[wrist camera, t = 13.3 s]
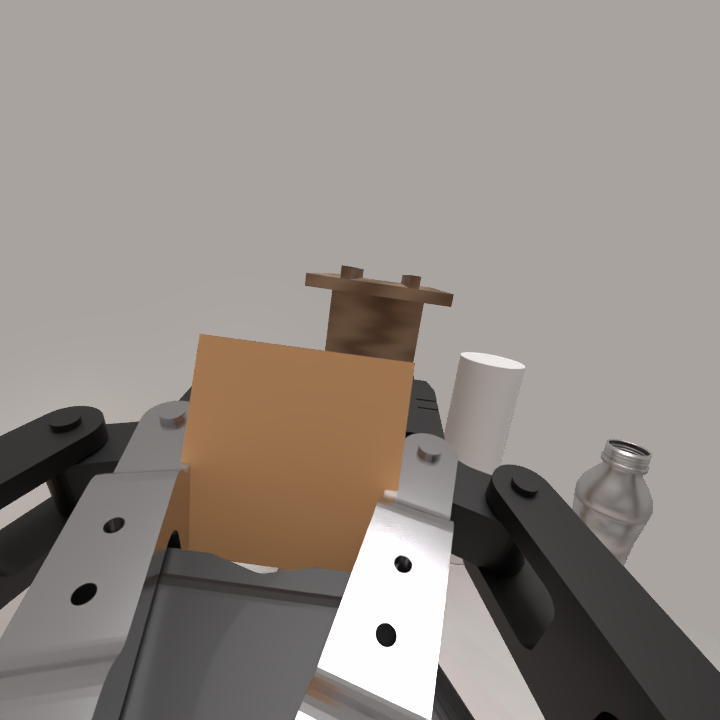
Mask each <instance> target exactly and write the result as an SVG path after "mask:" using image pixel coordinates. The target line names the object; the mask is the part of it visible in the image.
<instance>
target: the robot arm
mask: <svg viewBox="0 0 720 720" xmlns="http://www.w3.org/2000/svg"><path fill="white" fill-rule="evenodd" d="M191 389H192V386H191V388H190V389H189V390H188V391H187V392H186V393H185V394H184V395H183V397H182V398H181V399H180V400H179V401H171V402H166V403H162V404H159V405H157V406H155V407H153V408H151V409H150V410H148V411H147V412H146V413H145V414H144V415H143V416H142V418H141V420H140V421H139V422H130V423H117V424H106V423H105V420H104V416H103V414H102V412H101V411H100V410H98V409H96V408H93V407H89V406H74V407H68V408H63V409H59V410H56V411H53V412H51V413H48V414H46V415H44V416H42V417H40V418H37V419H35V420H33V421H31V422H29V423H27V424H25V425H23V426H21V427H19V428H16V429H14V430H12V431H10V432H8V433H6V434H4V435H2V436H0V509H2V508H4V507H5V506H7V505H9V504H10V503H12V502H13V501H15V500H17V499H18V498H20V497H21V496H23V495H25V494H27V493H28V492H30V491H31V490H33V489H35V488H36V487H38V486H39V485H41V484H43V483H44V482H46V483H47V486H48V488H49V490H50V493H51V495H52V497H50V498H48V499H47V500H45V501H44V502H42V503H41V504H39V505H38V506H36V507H35V508H33V509H32V510H30V511H29V512H27V513H25V514H24V515H23V516H21V517H20V518H18V519H17V520H15V521H13V522H12V523H10V524H9V525H7V526H6V527H4V528H3V529H1V530H0V609H2V608H3V607H4V606H5V605H6V604H8V603H9V602H10V601H11V600H13V599H14V598H15V597H16V596H18V595H19V594H20V593H21V592H23V591H24V590H25V589H26V588H28V587H29V586H30V585H31V586H30V588H29V590H28V591H27V593H26V595H25V597H24V598H23V600H22V602H21V604H20V606H19V607H18V609H17V611H16V613H15V614H14V616H13V617H12V619H11V621H10V623H9V625H8V626H7V628H6V630H5V632H4V633H3V635H2V637H1V639H0V720H475V719H474V718H473V716H472V714H471V713H470V711H469V710H468V708H467V707H466V705H465V704H464V702H463V701H462V699H461V698H460V696H459V694H458V693H457V691H456V690H455V688H454V687H453V685H452V684H451V682H450V681H449V679H448V678H447V676H446V675H445V673H444V671H443V670H442V668H441V667H440V665H439V664H438V657H439V648H440V640H441V631H442V623H443V614H444V606H445V598H446V589H447V581H448V572H449V564H450V555H451V554H453V555H455V556H457V557H459V558H461V559H463V563H464V565H465V568H466V569H467V571H468V573H469V575H470V577H471V579H472V581H473V583H474V585H475V587H476V589H477V590H478V592H479V594H480V596H481V598H482V600H483V602H484V604H485V606H486V608H487V609H488V611H489V613H490V615H491V617H492V619H493V621H494V623H495V625H496V627H497V628H498V630H499V632H500V634H501V636H502V638H503V640H504V642H505V644H506V646H507V647H508V649H509V651H510V653H511V655H512V657H513V659H514V661H515V663H516V665H517V666H518V668H519V670H520V672H521V674H522V676H523V678H524V680H525V682H526V684H527V685H528V687H529V689H530V691H531V693H532V695H533V697H534V699H535V701H536V703H537V704H538V706H539V708H540V710H541V712H542V714H543V716H544V718H545V720H720V672H719V671H718V670H717V669H716V668H715V667H714V666H713V665H712V663H711V662H710V661H709V660H708V659H707V658H706V657H705V656H704V655H703V654H702V652H701V651H700V650H699V649H698V648H697V647H696V646H695V645H694V644H693V642H692V641H691V640H690V639H689V638H688V637H687V636H686V635H685V634H684V633H683V631H682V630H681V629H680V628H679V627H678V626H677V625H676V624H675V623H674V621H673V620H672V619H671V618H670V617H669V616H668V615H667V614H666V613H665V612H664V610H663V609H662V608H661V607H660V606H659V605H658V604H657V603H656V602H655V600H653V598H652V597H651V596H650V595H649V594H648V593H647V592H646V591H645V589H644V588H643V587H642V586H641V585H640V584H639V583H638V582H637V581H636V580H635V578H634V577H633V576H632V575H631V574H630V573H629V572H628V571H627V570H626V568H625V567H624V566H623V565H622V564H621V563H620V562H619V561H618V560H617V558H616V557H615V556H614V555H613V554H612V553H611V552H610V551H609V550H608V549H607V547H606V546H605V545H604V544H603V543H602V542H601V541H600V540H599V539H598V537H597V536H596V535H595V534H594V533H593V532H592V531H591V530H590V529H589V528H588V526H587V525H586V524H585V523H584V522H583V521H582V520H581V519H580V518H579V516H578V515H577V514H576V513H575V512H574V511H573V510H572V509H571V508H570V507H569V505H568V504H567V503H566V502H565V501H564V500H563V499H562V498H561V497H560V495H559V494H558V493H557V492H556V491H555V490H554V489H553V488H552V487H551V485H550V484H549V483H548V482H547V481H546V480H545V479H543V478H542V477H541V476H539V475H538V474H537V473H535V472H533V471H531V470H529V469H527V468H524V467H521V466H516V465H502V466H499V467H498V468H496V469H495V470H494V472H493V474H492V475H490V474H487V473H484V472H482V471H479V470H476V469H474V468H471V467H469V466H467V465H465V464H463V463H462V462H460V461H459V460H458V456H457V453H456V451H455V449H454V448H453V447H452V446H451V445H450V444H449V443H448V442H447V441H445V438H444V433H443V429H442V424H441V420H440V415H439V411H438V406H437V403H436V396H435V392H434V390H433V389H432V388H431V386H430V385H429V384H428V383H427V382H426V381H421V380H414V376H413V381H412V388H411V396H410V404H409V411H408V419H407V427H406V434H405V442H404V450H403V458H402V465H401V473H400V481H399V488H398V491H391V490H385V492H384V495H383V497H382V496H380V498H379V500H378V503H377V506H376V508H375V511H374V514H373V516H372V519H371V522H370V525H369V527H368V530H367V533H366V536H365V538H364V541H363V544H362V547H361V549H360V552H359V555H358V558H357V560H356V563H355V566H354V569H353V571H352V572H346V571H339V570H331V569H324V568H317V567H316V568H308V569H299V570H291V571H283V572H275V573H266V574H260V573H256V572H253V571H251V570H249V569H246V568H244V567H242V566H239V565H237V564H235V563H233V562H230V561H228V560H226V559H223V558H221V557H219V556H217V555H214V554H212V553H205V552H198V551H191V550H189V501H190V463H184V462H181V456H182V449H183V443H184V436H185V429H186V423H187V416H188V409H189V403H190V396H191Z"/></svg>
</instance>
